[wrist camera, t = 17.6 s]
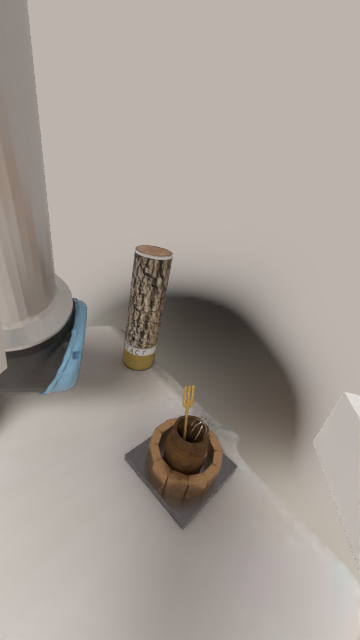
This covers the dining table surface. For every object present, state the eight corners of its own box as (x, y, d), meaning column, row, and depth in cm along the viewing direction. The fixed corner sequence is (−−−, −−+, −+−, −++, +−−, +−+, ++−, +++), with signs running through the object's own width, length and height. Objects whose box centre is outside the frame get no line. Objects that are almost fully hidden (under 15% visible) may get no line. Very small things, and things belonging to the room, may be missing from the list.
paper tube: (136, 349, 65) (151, 243, 53) (159, 362, 62) (180, 254, 51) (115, 361, 59) (127, 247, 48) (139, 376, 57) (158, 259, 45)
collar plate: (124, 459, 40) (127, 441, 38) (180, 419, 49) (184, 403, 47) (182, 529, 34) (189, 511, 32) (235, 470, 42) (243, 453, 40)
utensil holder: (171, 487, 37) (188, 426, 31) (156, 447, 42) (169, 388, 36) (208, 475, 39) (231, 416, 34) (190, 438, 44) (208, 382, 39)
